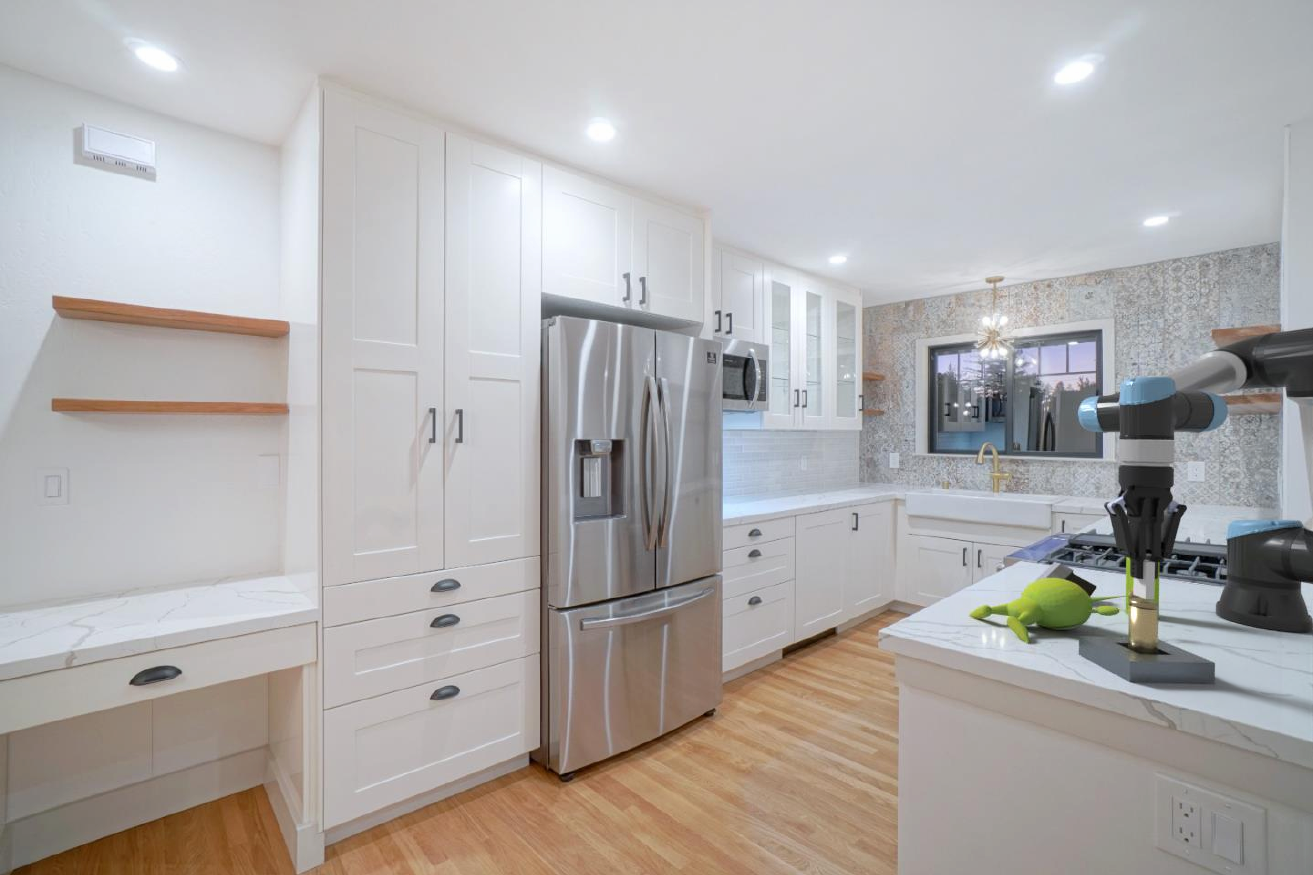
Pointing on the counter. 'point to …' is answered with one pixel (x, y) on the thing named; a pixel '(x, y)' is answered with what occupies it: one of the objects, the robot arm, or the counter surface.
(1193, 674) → the jig
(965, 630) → the counter surface
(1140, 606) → the gold metallic cylinder
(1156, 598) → the soap dispenser
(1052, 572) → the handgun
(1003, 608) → the toy
